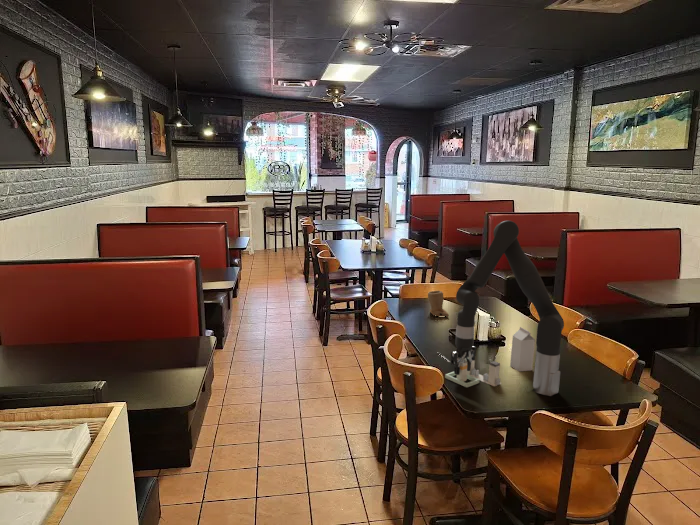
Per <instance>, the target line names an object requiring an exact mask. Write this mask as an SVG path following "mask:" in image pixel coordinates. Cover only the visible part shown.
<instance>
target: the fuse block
mask: <svg viewBox="0 0 700 525" xmlns="http://www.w3.org/2000/svg"><path fill="white" fill-rule="evenodd" d="M472 357H473V355H472ZM464 361H466V359H464ZM475 363H476V359H475V360H473V361H472V363H471V369H470V371H467V374H468V375H470V376H472V377H475V378H477V379H479V382H480V381H481V382H483V383H485V384H487V385H491V386H492V387H497V386H500V385H502V383H503V382H501V378H499V377H500V367H501V363H500V362H499V361H495V360H493V361H490V362H489V366H488V372H487V373H483V375H482V374H480V370H479V369H476V368H475Z"/></svg>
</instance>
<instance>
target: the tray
mask: <svg viewBox="0 0 700 525" xmlns="http://www.w3.org/2000/svg"><path fill="white" fill-rule="evenodd" d="M455 376H457V374H455V373H454V371H451V372H449V373H445V374H444V378H445V379H446V380H448V381H451V382H453V383H456V384H458V385H461V386H463V387H464V388H469V387H472V386H475V385H477V384H479V383H480V380H479V379H477V378H475V377H472V376H470V375H468V374H467V380H469V382H466V381H464V382H463V381H461V380H459V379H457V377H455Z"/></svg>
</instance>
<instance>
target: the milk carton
mask: <svg viewBox="0 0 700 525" xmlns="http://www.w3.org/2000/svg"><path fill="white" fill-rule="evenodd" d="M531 334H532V333H531V332H530V331H529V330H527V329H525V328H523V327H521V326H519V329H518V330H517V331H516V332H515V333H514V334H513V335H512V338H511V339H512V340H511V341H512V342H511V349H510V350H511V351H510V352H511V353H510V364H509V366H510V367H511V368H513V369H514V370H516V371H518V372H528V371H533V366H534V364H533V363H534V353H535V343H536V340H535V338H534V337H533V336H532V335H531Z"/></svg>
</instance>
